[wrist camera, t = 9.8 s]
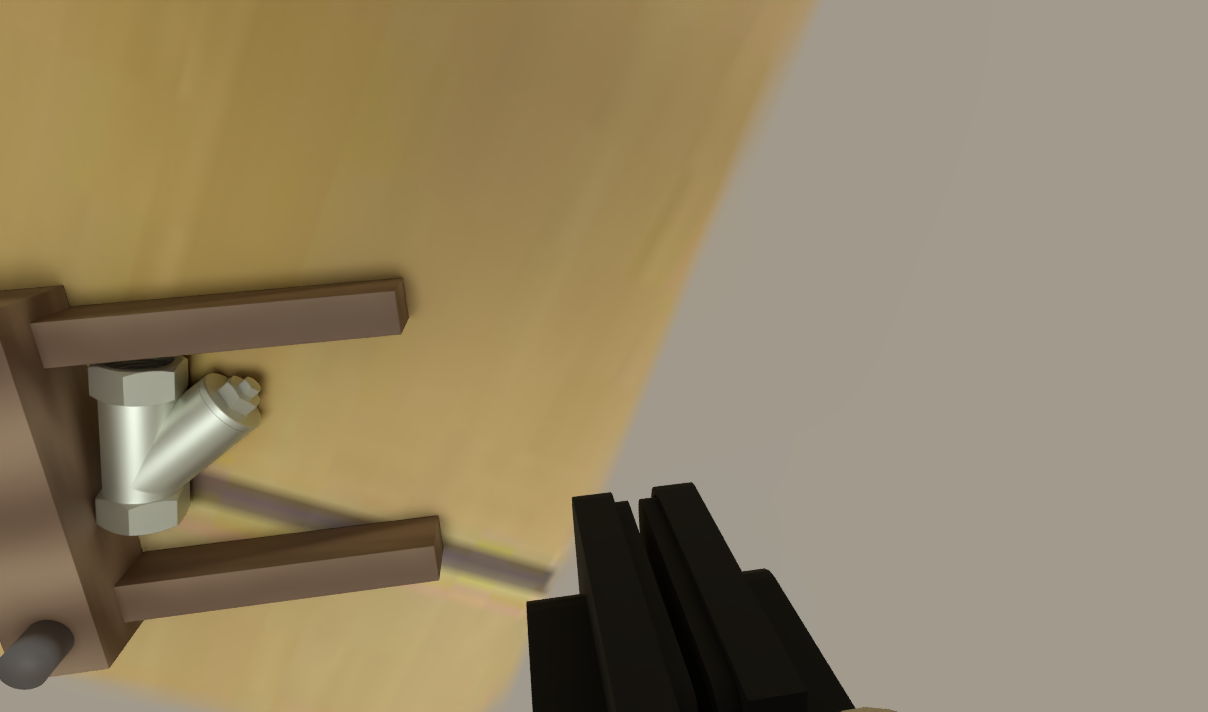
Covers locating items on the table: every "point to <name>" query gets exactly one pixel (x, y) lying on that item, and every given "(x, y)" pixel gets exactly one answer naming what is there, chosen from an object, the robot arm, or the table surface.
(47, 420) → the bench jig
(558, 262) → the table surface
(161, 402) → the pipe fitting
